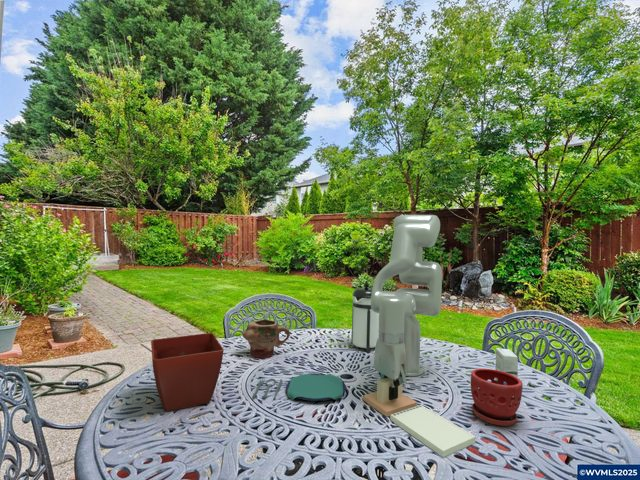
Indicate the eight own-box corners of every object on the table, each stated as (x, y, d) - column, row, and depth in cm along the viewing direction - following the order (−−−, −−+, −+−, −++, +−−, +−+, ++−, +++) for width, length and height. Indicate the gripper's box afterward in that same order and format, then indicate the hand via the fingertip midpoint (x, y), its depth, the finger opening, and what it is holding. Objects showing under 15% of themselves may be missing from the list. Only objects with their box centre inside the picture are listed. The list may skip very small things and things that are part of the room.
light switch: (362, 400, 105) (363, 376, 105) (391, 391, 111) (392, 369, 111) (386, 416, 95) (387, 390, 95) (416, 406, 101) (417, 382, 101)
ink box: (518, 391, 114) (519, 356, 114) (502, 389, 115) (503, 355, 115) (509, 380, 122) (510, 348, 122) (494, 379, 123) (495, 347, 123)
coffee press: (386, 353, 148) (388, 285, 147) (350, 352, 148) (351, 284, 147) (380, 341, 165) (381, 280, 165) (347, 340, 165) (348, 279, 165)
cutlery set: (347, 406, 101) (347, 399, 101) (248, 404, 102) (248, 397, 102) (344, 379, 121) (345, 373, 121) (262, 377, 122) (262, 371, 122)
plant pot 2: (520, 435, 88) (522, 390, 88) (466, 420, 95) (467, 378, 95) (521, 414, 99) (522, 373, 99) (473, 401, 106) (474, 363, 106)
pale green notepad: (390, 420, 94) (390, 414, 94) (420, 409, 100) (421, 404, 100) (443, 457, 78) (443, 450, 78) (475, 442, 84) (475, 436, 84)
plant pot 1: (150, 421, 90) (152, 359, 90) (149, 391, 107) (150, 339, 107) (223, 406, 99) (224, 349, 99) (211, 381, 116) (212, 332, 116)
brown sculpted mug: (288, 349, 151) (289, 318, 150) (290, 359, 138) (291, 325, 138) (243, 350, 148) (243, 318, 147) (240, 360, 136) (241, 326, 135)
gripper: (364, 331, 108) (363, 388, 108) (401, 346, 94) (399, 412, 94) (382, 328, 112) (381, 384, 112) (420, 342, 98) (418, 405, 98)
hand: (389, 396), depth 103 cm, fingers closed on light switch, 2 cm apart
